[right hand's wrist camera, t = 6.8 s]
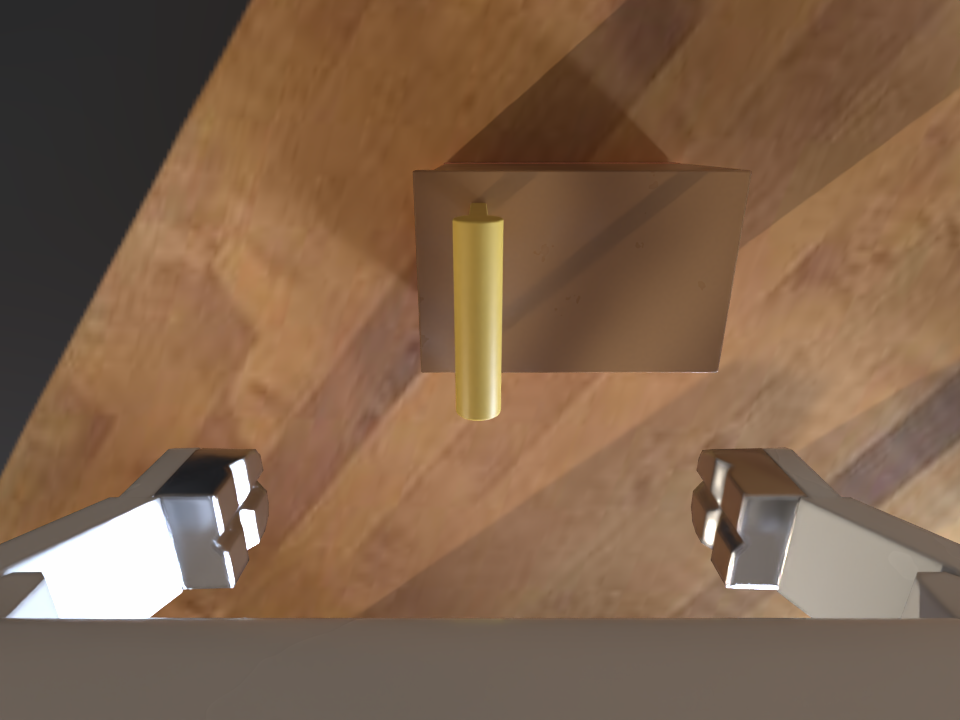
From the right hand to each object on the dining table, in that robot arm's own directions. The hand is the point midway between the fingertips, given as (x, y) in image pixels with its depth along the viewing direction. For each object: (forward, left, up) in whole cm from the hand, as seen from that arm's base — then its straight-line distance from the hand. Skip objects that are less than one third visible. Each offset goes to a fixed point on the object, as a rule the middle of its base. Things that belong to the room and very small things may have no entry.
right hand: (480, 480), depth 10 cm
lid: (-2, -4, -17) cm, 18 cm away
